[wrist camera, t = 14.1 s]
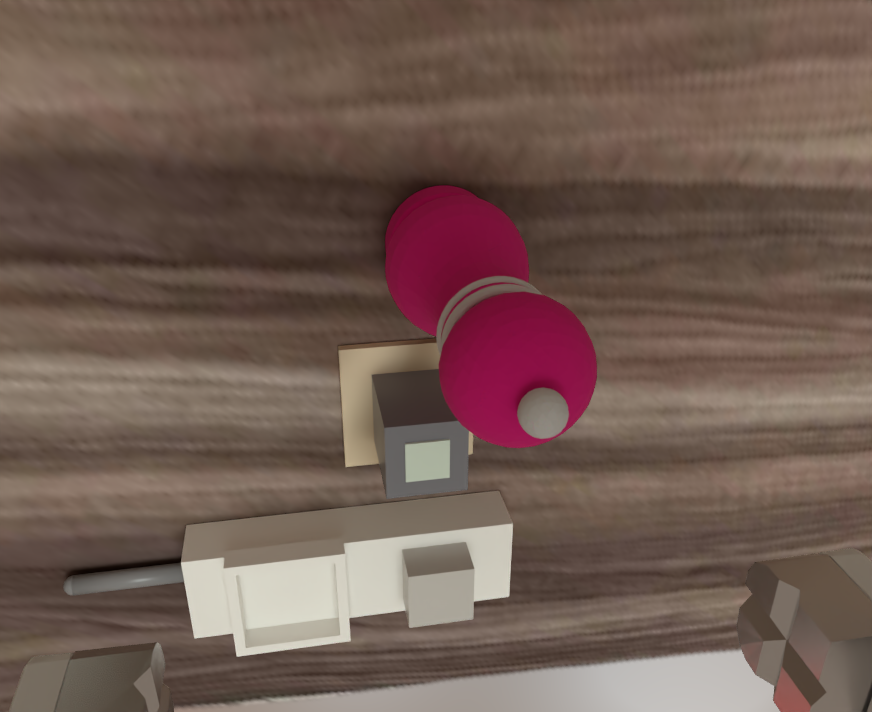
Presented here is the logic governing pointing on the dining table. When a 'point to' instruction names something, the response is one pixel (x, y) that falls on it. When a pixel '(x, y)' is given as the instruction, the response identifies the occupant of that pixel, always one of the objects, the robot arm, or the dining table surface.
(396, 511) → the power strip
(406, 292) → the pepper mill
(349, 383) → the coaster
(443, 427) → the block
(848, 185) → the dining table surface
